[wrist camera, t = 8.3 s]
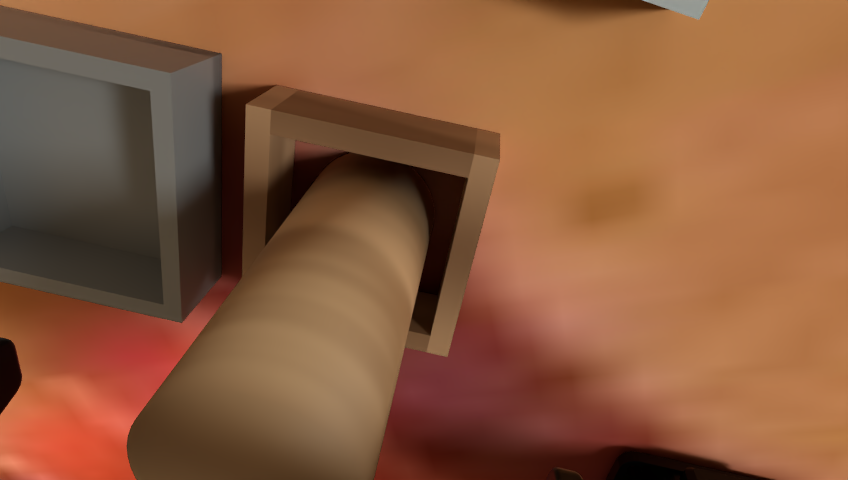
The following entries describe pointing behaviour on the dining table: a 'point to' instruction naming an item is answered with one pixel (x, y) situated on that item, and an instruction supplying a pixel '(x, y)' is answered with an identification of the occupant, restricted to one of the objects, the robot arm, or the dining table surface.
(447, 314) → the socket block
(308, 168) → the dining table surface
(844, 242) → the dining table surface
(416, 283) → the dowel
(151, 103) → the tray
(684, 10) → the pale grey box
